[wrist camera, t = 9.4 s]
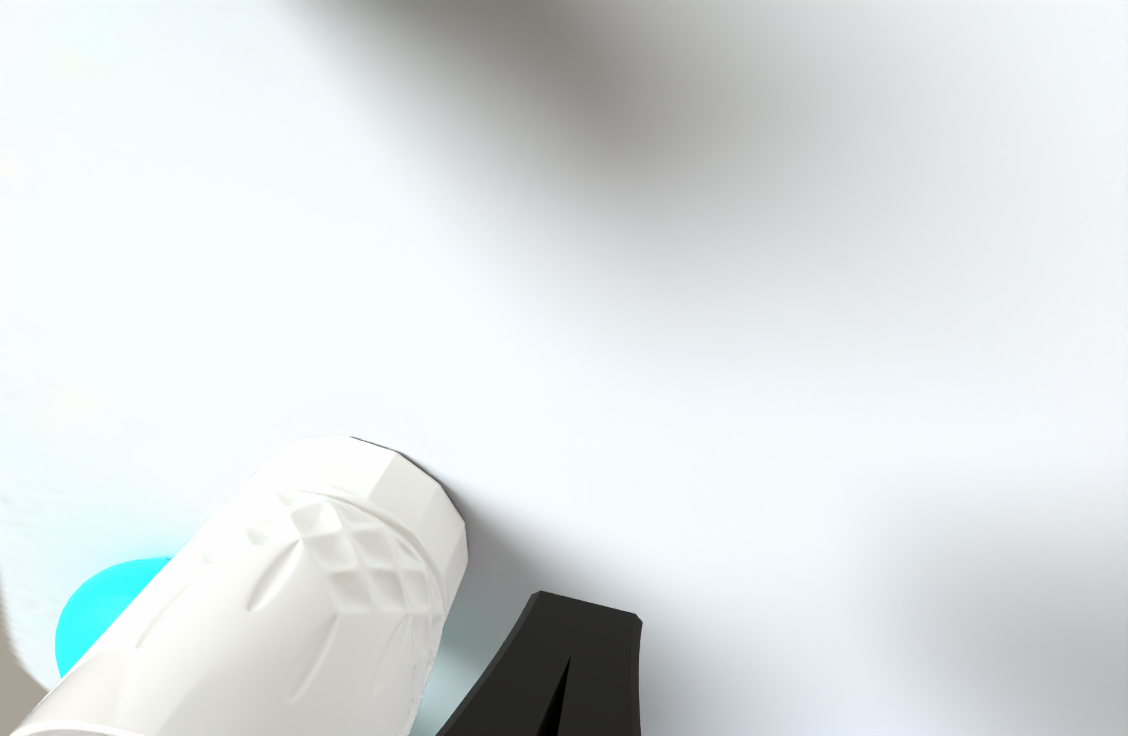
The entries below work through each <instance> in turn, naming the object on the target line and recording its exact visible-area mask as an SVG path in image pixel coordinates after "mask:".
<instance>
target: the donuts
mask: <svg viewBox="0 0 1128 736" xmlns="http://www.w3.org/2000/svg"><path fill="white" fill-rule="evenodd" d="M169 561H170V559H142V560H134V561H128V562H125V563H121V564H118V565H115V566H112V567H109V568H107V569H105V570H103V571H101V572H99V573H97V574H96V575H94V576H93V577H91V578H90V579H88V580H87V581H86V582H84V583H83V584H82V585H81V586H80V587H79V588H78V589H77V590H76V591H75V592H74V594H73V595H72V596H71V597H70V599H69V601H68V602H67V604H66V606H65V607H64V609H63V611H62V613H61V616H60V619H59V622H58V625H57V629H56V636H55V655H56V661H57V665H58V669H59V673H60V676H61V679H62V678H63V677H64V676H65V675H66V674H67V672H68V671H69V670H70V669H71V668H72V667H73V666H74V665H75V664H76V663H77V661H78V660H79V659H80V658H81V657H82V656H83V655H84V654H85V653H86V652H87V651H88V649H89V648H90V647H91V646H92V645H93V644H94V643H95V642H96V641H97V640H98V638H99V637H100V636H101V635H102V634H103V633H104V632H105V631H106V630H107V629H108V627H109V626H110V625H111V624H112V623H113V622H114V621H115V620H116V619H117V618H118V616H119V615H120V614H121V613H122V612H123V611H124V610H125V609H126V608H127V607H128V605H129V604H130V603H131V602H132V601H133V600H134V599H135V598H136V597H137V596H138V595H139V593H140V592H141V591H142V590H143V589H144V588H145V587H146V586H147V585H148V584H149V582H150V581H151V580H152V579H153V578H154V577H155V576H156V575H157V574H158V573H159V572H160V571H161V570H162V568H163V567H164V566H165V565H166V564H167V563H168V562H169Z"/></svg>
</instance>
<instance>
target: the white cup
mask: <svg viewBox="0 0 1128 736" xmlns="http://www.w3.org/2000/svg"><path fill="white" fill-rule="evenodd" d="M468 561H469V559H468V549H467V539H466V529H465V522H464V520H463V519H462V517H461V516H460V514H459V513H458V511H457V510H456V508H455V507H454V505H453V504H452V502H451V501H450V499H449V498H448V496H447V494H446V493H445V491H444V490H443V488H442V487H441V485H440V484H439V483H438V482H437V481H435V480H434V479H433V478H431V477H430V476H428V475H427V474H426V473H424V472H423V471H422V470H420V469H419V468H418V467H416V466H415V465H414V464H412V463H411V462H409V461H408V460H407V459H405V458H404V457H403V456H401V455H400V454H398V453H397V452H395V451H392V450H389V449H386V448H383V447H379V446H376V445H373V444H370V443H367V442H364V441H361V440H358V439H355V438H351V437H348V436H339V437H321V438H304V439H300V440H298V441H296V442H295V443H293V444H292V445H290V446H289V447H287V448H286V449H284V450H283V451H281V452H279V453H278V454H276V455H275V456H273V457H272V458H270V459H269V460H268V461H267V462H266V463H265V464H264V465H263V466H262V467H261V468H260V469H259V470H258V472H257V473H256V474H255V475H254V476H253V477H252V478H251V480H250V481H249V482H248V483H247V484H246V485H245V486H244V487H243V489H242V490H241V491H240V492H239V493H238V494H237V495H236V496H235V498H234V499H233V500H232V501H231V502H230V503H228V504H227V505H225V506H224V507H223V508H222V509H221V510H219V511H218V512H217V513H216V514H215V515H214V516H213V517H212V518H211V519H210V520H209V521H208V522H207V523H206V524H205V525H204V526H203V527H202V528H201V529H200V530H199V531H198V532H197V533H196V534H195V536H194V537H193V538H192V540H191V541H190V542H189V543H188V544H187V545H186V546H185V547H184V548H183V549H182V550H181V551H179V552H178V553H177V554H176V555H175V556H174V557H173V558H172V559H171V560H170V561H169V562H168V563H167V564H166V565H165V566H164V567H163V568H162V570H161V571H160V572H159V573H158V574H157V575H156V576H155V577H154V578H153V579H152V580H151V581H150V582H149V584H148V585H147V586H146V587H145V588H144V589H143V590H142V591H141V592H140V593H139V595H138V596H137V597H136V598H135V599H134V600H133V601H132V602H131V603H130V604H129V605H128V607H127V608H126V609H125V610H124V611H123V612H122V613H121V614H120V615H119V616H118V618H117V619H116V620H115V621H114V622H113V623H112V624H111V625H110V626H109V627H108V629H107V630H106V631H105V632H104V633H103V634H102V635H101V636H100V637H99V638H98V640H97V641H96V642H95V643H94V644H93V645H92V646H91V647H90V648H89V649H88V651H87V652H86V653H85V654H84V655H83V656H82V657H81V658H80V659H79V660H78V661H77V663H76V664H75V665H74V666H73V667H72V668H71V669H70V670H69V671H68V672H67V674H66V675H65V676H64V677H63V678H62V679H61V680H60V681H59V682H58V683H57V684H56V685H55V687H54V688H53V689H52V690H51V691H50V692H49V693H48V694H47V695H46V696H45V697H44V699H43V700H42V701H41V702H40V703H39V704H38V705H37V706H36V707H35V708H34V709H33V710H32V712H31V713H30V714H29V715H28V716H27V717H26V718H25V719H24V720H23V721H22V723H20V725H19V726H18V727H17V728H16V729H15V730H14V731H13V732H12V733H11V734H10V735H9V736H409V734H410V731H411V728H412V726H413V723H414V720H415V718H416V715H417V712H418V709H419V707H420V704H421V700H422V696H423V692H424V689H425V687H426V684H427V682H428V679H429V677H430V674H431V671H432V669H433V666H434V663H435V660H436V657H437V654H438V651H439V645H440V640H441V636H442V631H443V626H444V624H445V621H446V619H447V616H448V614H449V611H450V609H451V606H452V604H453V601H454V598H455V596H456V593H457V591H458V588H459V586H460V583H461V581H462V578H463V575H464V573H465V570H466V568H467V565H468Z"/></svg>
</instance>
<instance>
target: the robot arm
mask: <svg viewBox="0 0 1128 736" xmlns="http://www.w3.org/2000/svg"><path fill="white" fill-rule="evenodd" d="M642 624H643V622H642V621H641V620H640V619H639V617H638V616H637V615H636V614H634V613H630V612H626V611H622V610H618V609H614V608H610V607H606V606H602V605H597V604H593V603H589V602H585V601H581V600H577V599H573V598H569V597H565V596H561V595H557V594H553V593H549V592H545V591H539V592H536V593H534V594H532V595H531V597H530V599H529V600H528V602H527V604H526V606H525V608H524V610H523V612H522V614H521V615H520V617H519V619H518V620H517V622H516V624H515V625H514V627H513V629H512V631H511V632H510V634H509V635H508V637H507V638H506V640H505V642H504V643H503V645H502V646H501V648H500V649H499V651H498V652H497V654H496V655H495V657H494V658H493V659H492V661H491V662H490V664H489V665H488V667H487V668H486V670H485V671H484V672H483V674H482V675H481V677H480V678H479V680H478V681H477V682H476V684H475V685H474V686H473V688H472V689H471V690H470V691H469V693H468V694H467V695H466V697H465V698H464V699H463V701H462V702H461V703H460V705H459V706H458V707H457V709H456V710H455V711H454V713H453V714H452V715H451V716H450V718H449V719H448V720H447V722H446V723H445V724H444V726H443V727H442V728H441V729H440V731H439V732H438V733H437V734H436V736H641V728H640V710H639V650H640V637H641V630H642Z"/></svg>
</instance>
